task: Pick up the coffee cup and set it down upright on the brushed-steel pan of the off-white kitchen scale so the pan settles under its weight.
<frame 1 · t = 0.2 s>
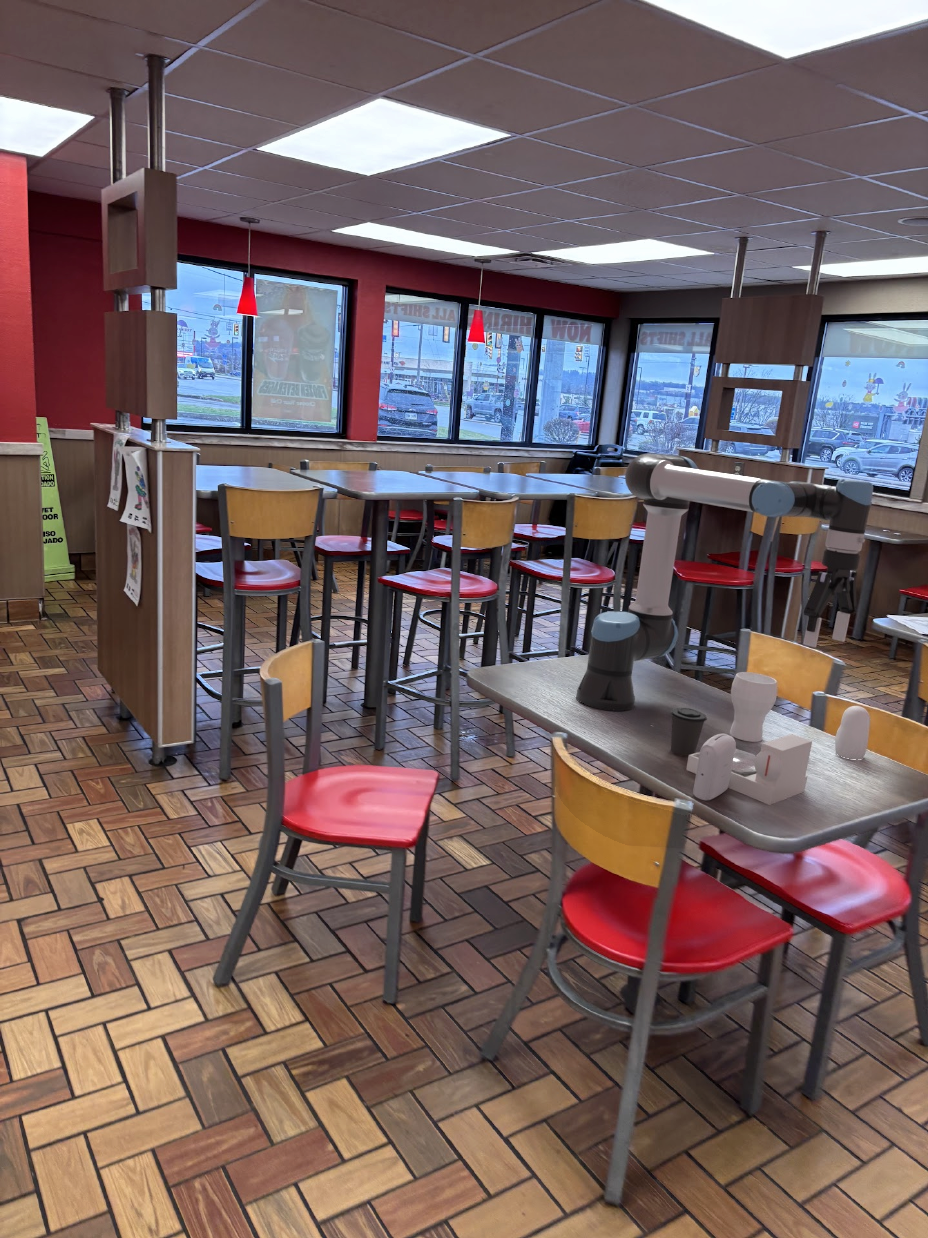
hand: (824, 643, 205), 28 cm above the table, fingers open, 13 cm apart
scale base: (744, 780, 193), on the table
coffee cup: (682, 753, 206), on the table
pan: (734, 765, 195), point 2 cm above the table, slide at 0.2 cm, touching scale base
photo printer: (710, 794, 184), on the table
figurine: (848, 756, 216), on the table
cup: (745, 737, 222), on the table
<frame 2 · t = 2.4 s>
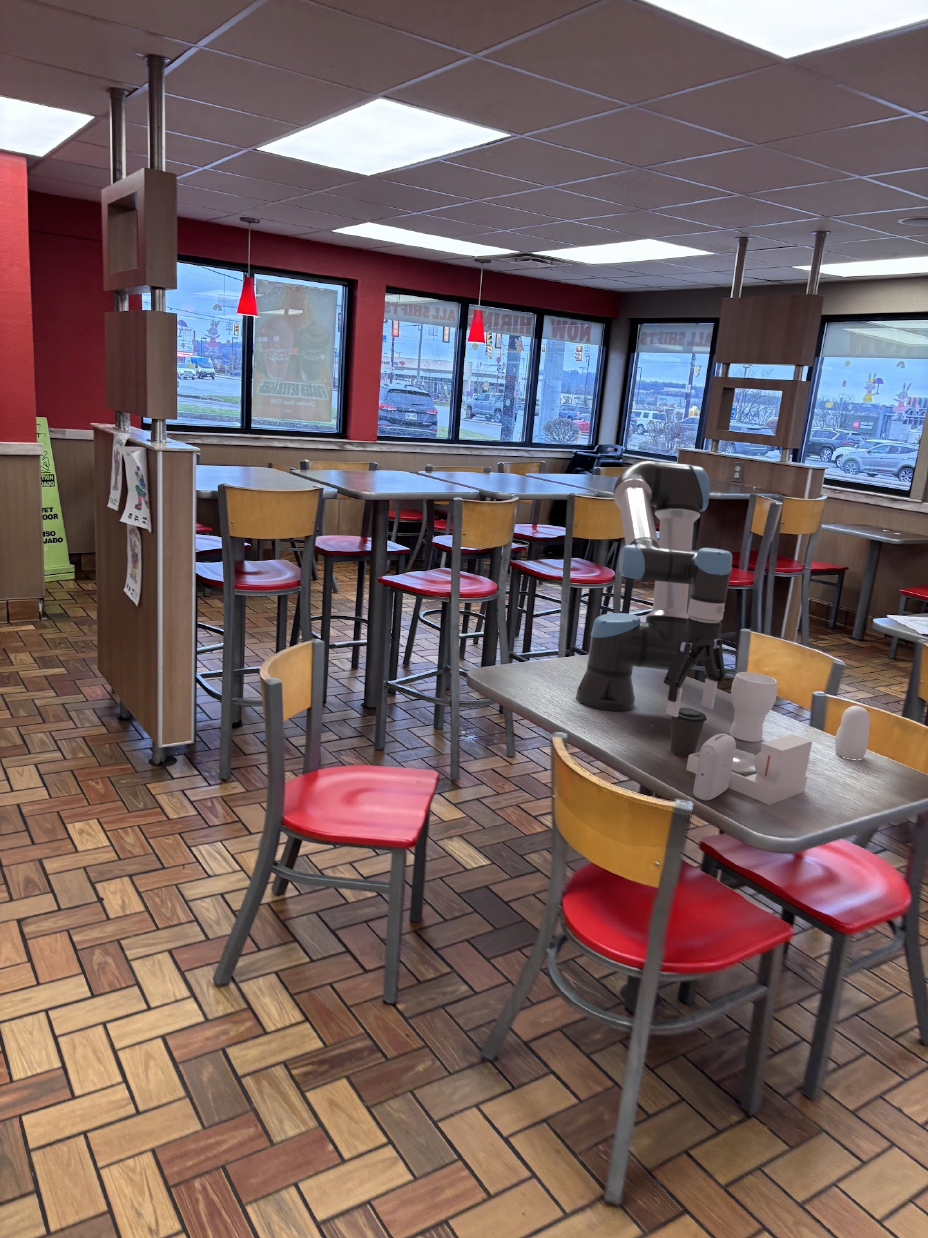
hand: (689, 711, 204), 10 cm above the table, fingers open, 13 cm apart
nothing on the table moved.
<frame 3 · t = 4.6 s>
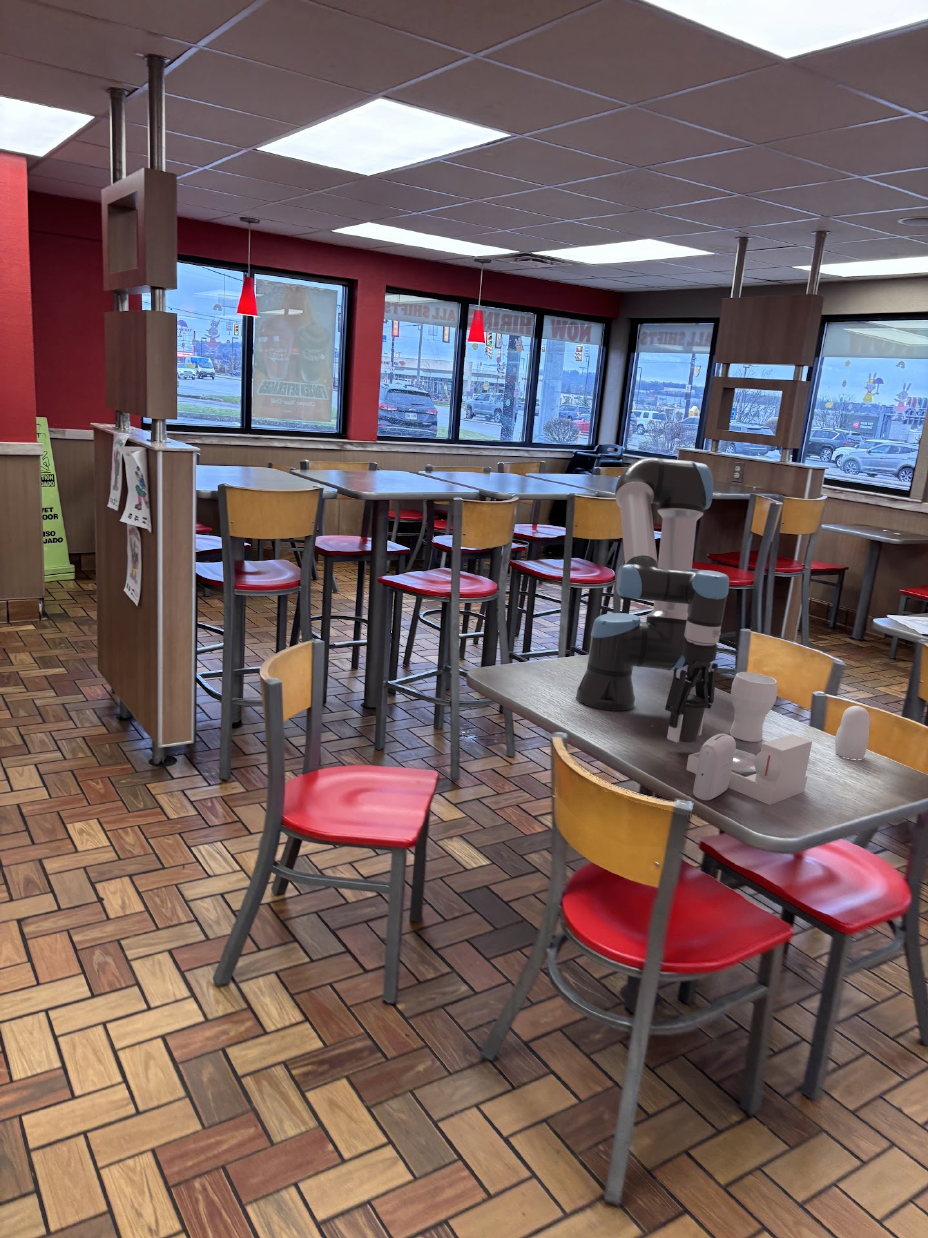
hand: (684, 736, 206), 3 cm above the table, fingers closed on coffee cup, 8 cm apart
coffee cup: (683, 738, 206), point 3 cm above the table, touching gripper
everything else where it was.
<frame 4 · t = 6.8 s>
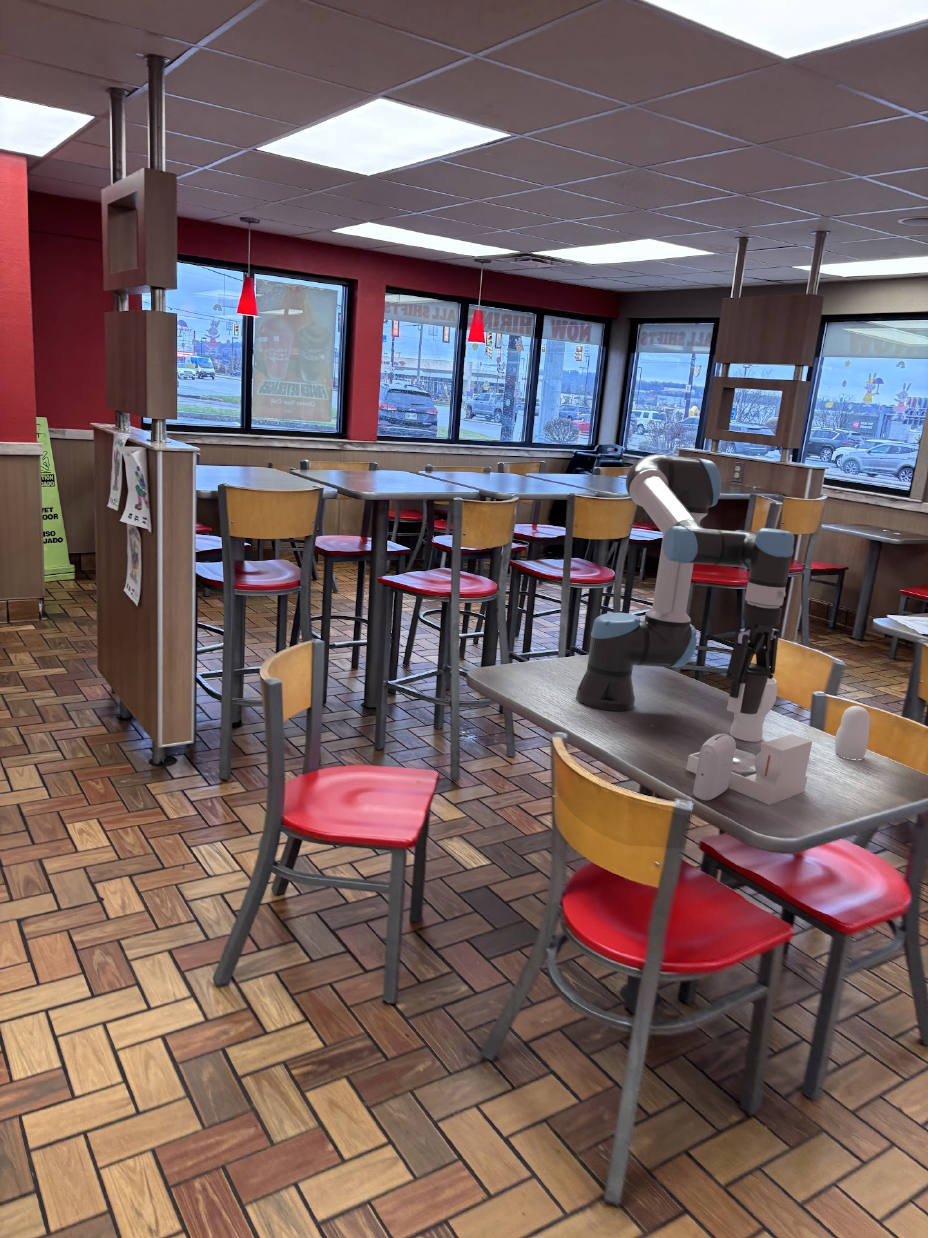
hand: (744, 709, 192), 15 cm above the table, fingers closed on coffee cup, 8 cm apart
coffee cup: (743, 710, 192), point 15 cm above the table, touching gripper
everything else where it was.
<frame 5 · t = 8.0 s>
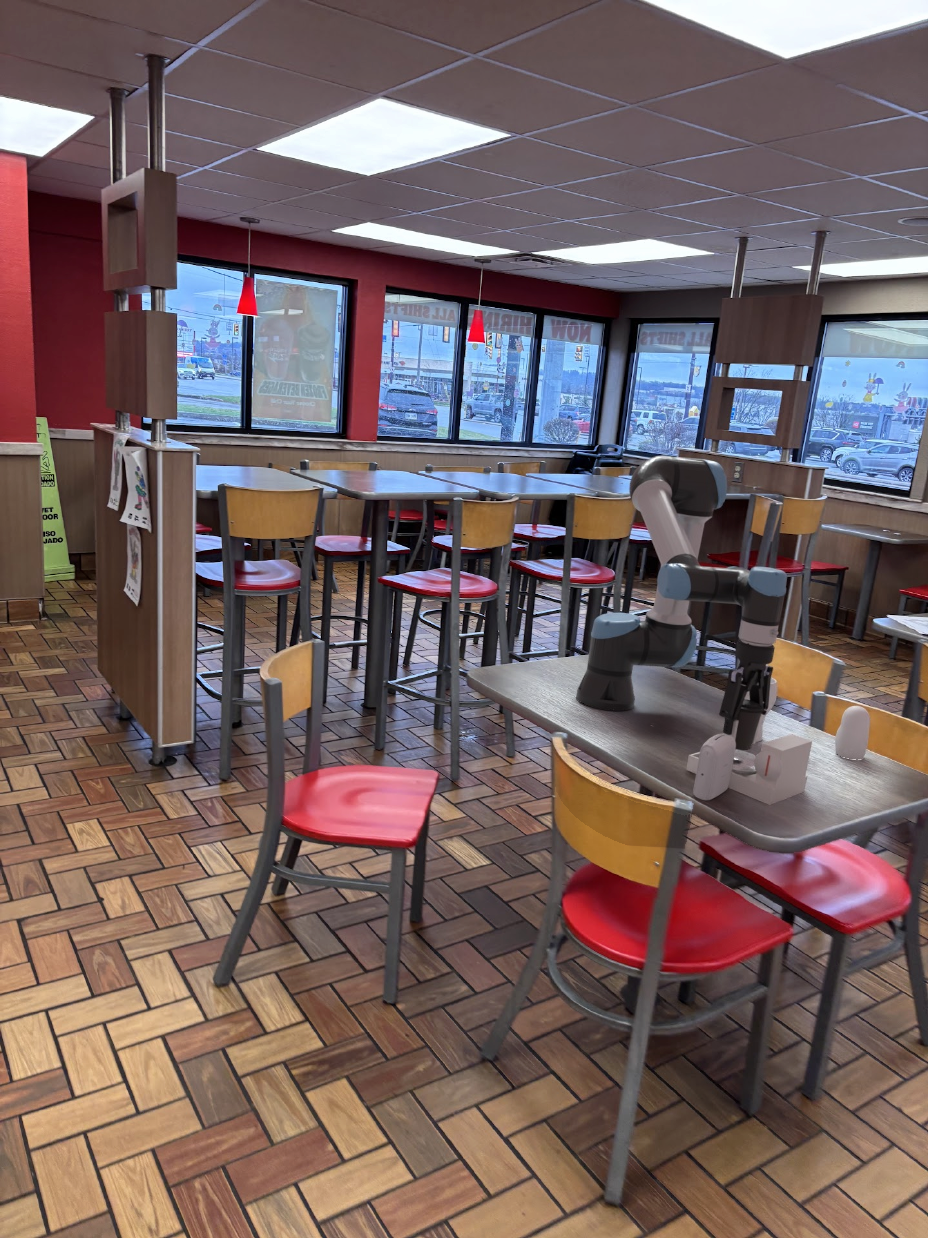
hand: (738, 744, 194), 7 cm above the table, fingers closed on coffee cup, 8 cm apart
coffee cup: (737, 746, 194), point 7 cm above the table, touching gripper
everything else where it was.
when the fingers open (6 cm above the table, at t = 8.8 s): coffee cup drops 1 cm, resting on pan.
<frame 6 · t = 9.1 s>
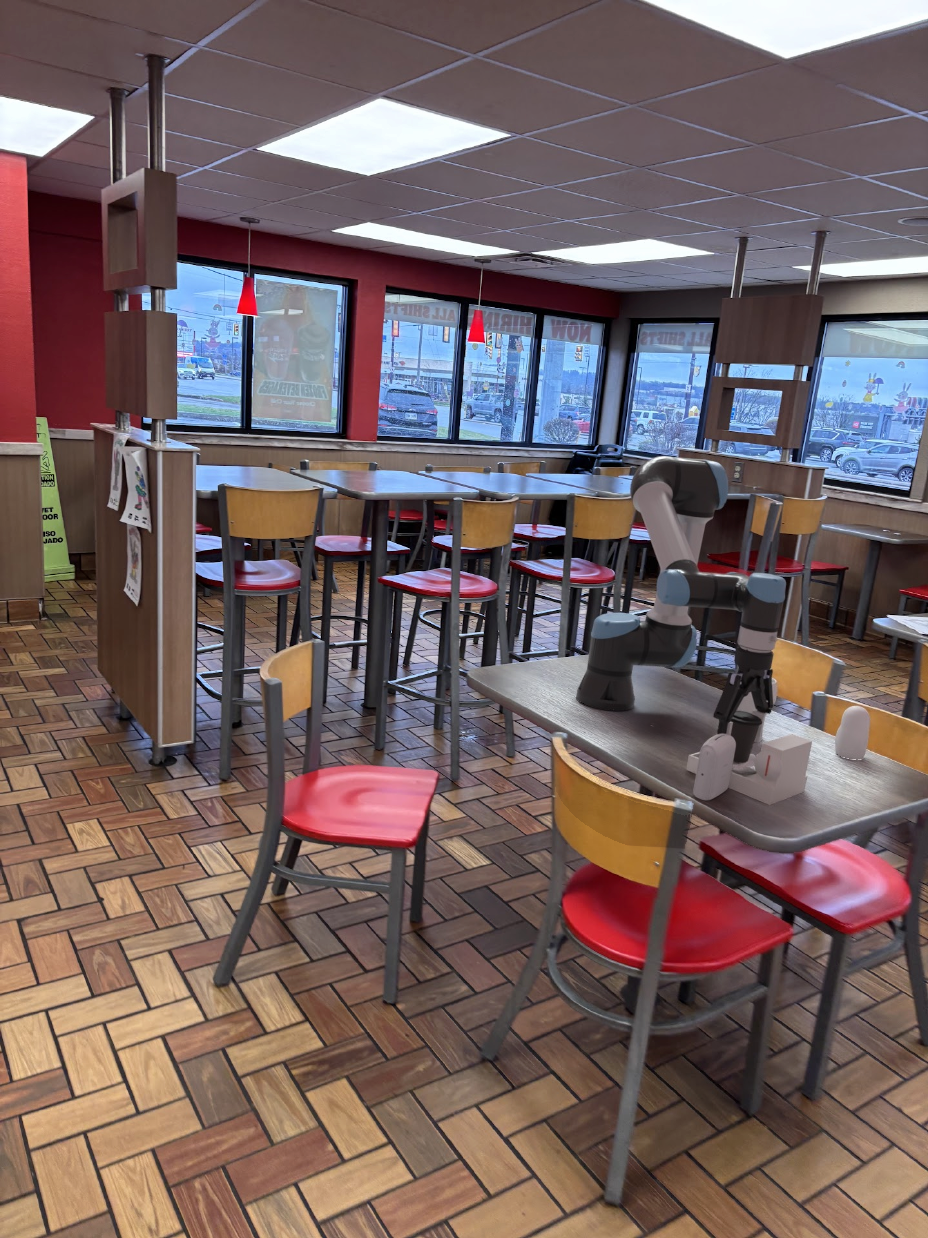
hand: (737, 745, 194), 7 cm above the table, fingers open, 12 cm apart
coffee cup: (735, 758, 195), point 4 cm above the table, touching pan
pan: (734, 765, 195), point 2 cm above the table, slide at 0.2 cm, touching coffee cup, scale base
everything else where it was.
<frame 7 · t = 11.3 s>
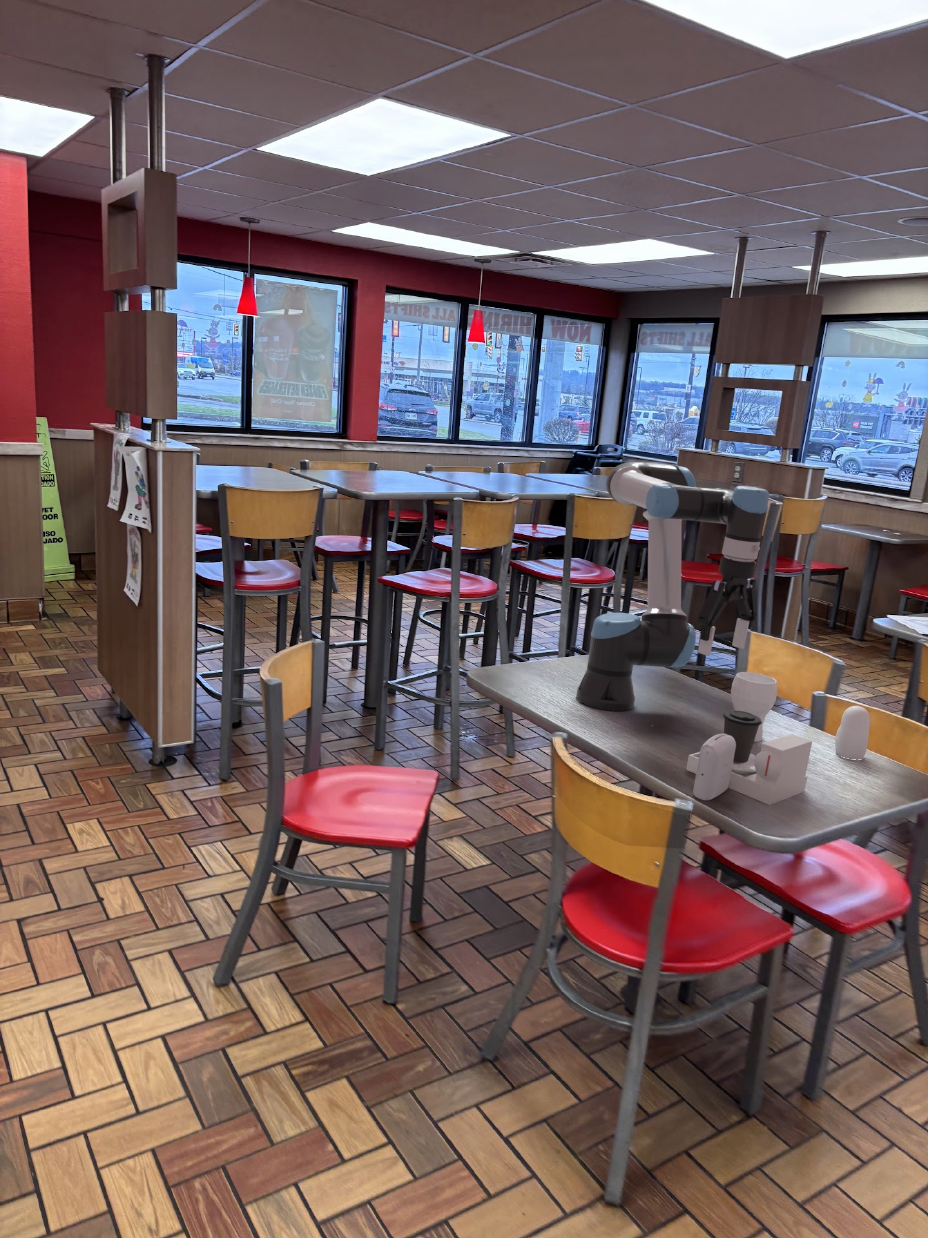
hand: (721, 650, 204), 24 cm above the table, fingers open, 13 cm apart
nothing on the table moved.
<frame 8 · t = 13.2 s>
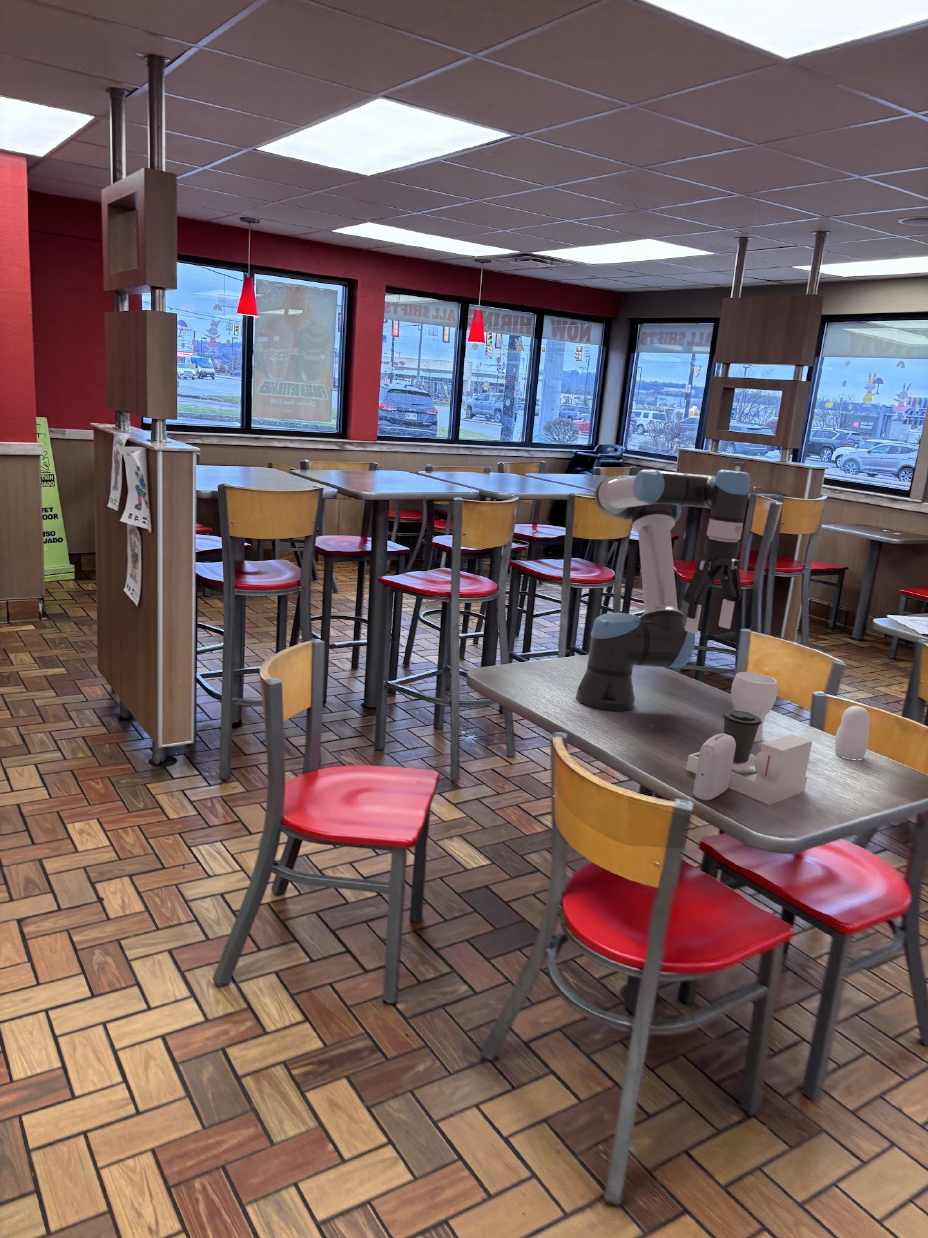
hand: (707, 629, 211), 27 cm above the table, fingers open, 13 cm apart
nothing on the table moved.
at the end: coffee cup inside the target area (0.1 cm from its centre), point 3.8 cm above the table; coffee cup tilted 0°; the gripper is holding nothing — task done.
